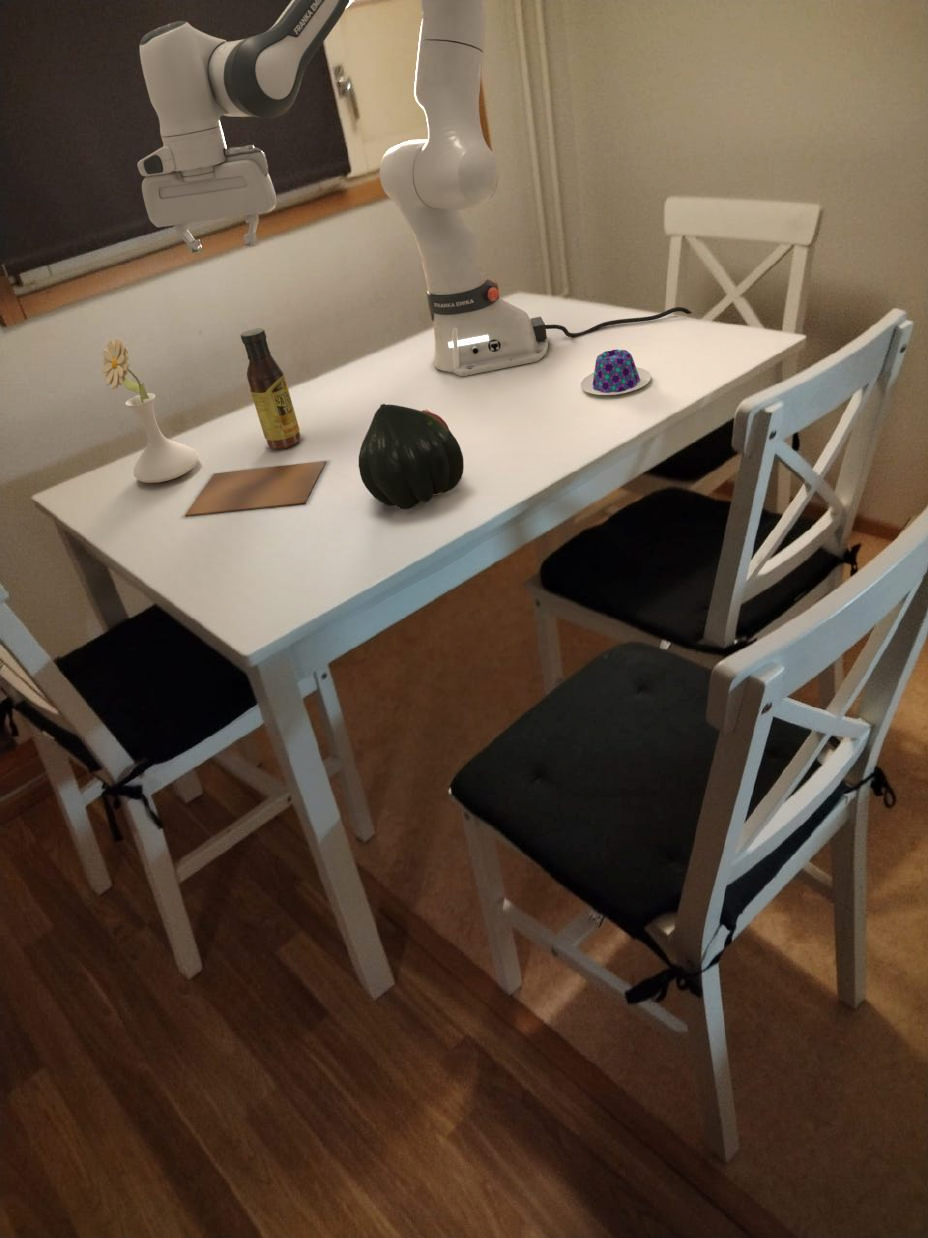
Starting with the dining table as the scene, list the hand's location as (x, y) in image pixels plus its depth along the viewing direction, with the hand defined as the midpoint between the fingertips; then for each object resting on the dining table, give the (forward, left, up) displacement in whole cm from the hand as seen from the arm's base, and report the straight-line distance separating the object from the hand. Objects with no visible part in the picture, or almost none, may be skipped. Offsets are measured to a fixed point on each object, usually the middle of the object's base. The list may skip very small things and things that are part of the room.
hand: (224, 249), depth 146 cm
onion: (-29, +12, -33) cm, 46 cm away
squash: (-28, +25, -33) cm, 51 cm away
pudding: (-58, -8, -33) cm, 68 cm away
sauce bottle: (0, 0, -33) cm, 33 cm away
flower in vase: (+19, +8, -33) cm, 39 cm away
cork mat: (0, +17, -33) cm, 37 cm away
